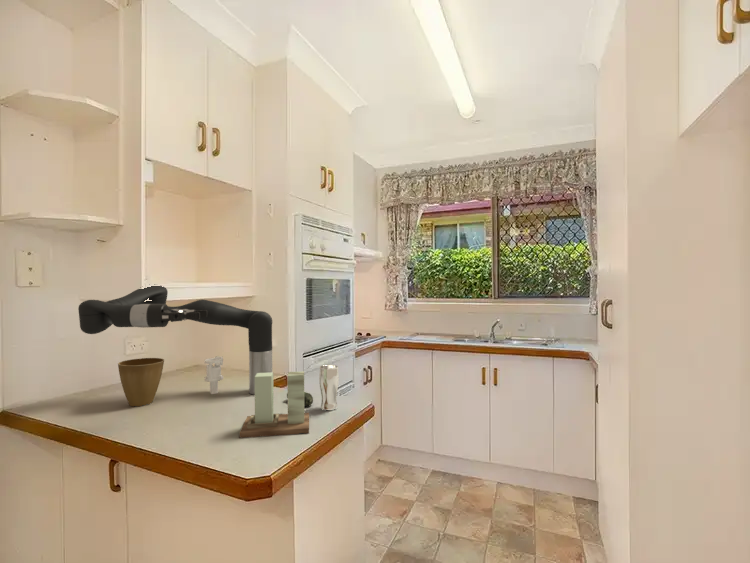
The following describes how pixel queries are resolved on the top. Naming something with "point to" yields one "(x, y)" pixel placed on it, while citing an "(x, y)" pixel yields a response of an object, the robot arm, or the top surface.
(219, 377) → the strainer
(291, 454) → the top surface
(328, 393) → the beer glass
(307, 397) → the vegetable
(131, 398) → the plant pot
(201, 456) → the top surface
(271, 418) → the sage pillar
